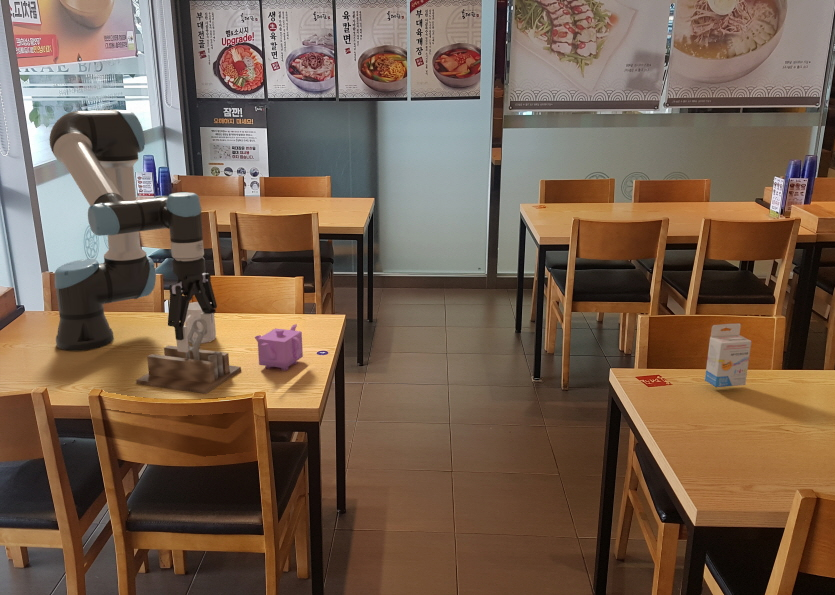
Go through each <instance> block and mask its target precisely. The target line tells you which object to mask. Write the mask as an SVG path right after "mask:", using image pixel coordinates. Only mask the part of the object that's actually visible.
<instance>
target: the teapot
mask: <svg viewBox="0 0 835 595" xmlns="http://www.w3.org/2000/svg"><path fill="white" fill-rule="evenodd" d="M297 327H298V324H296V323H295V324H293V325H292V326H291V327H290V329H284V328H274V329H272V330H270V331H269V332H266V333H265V334H264V335H260V334H259V335H255V336H254V338H255V340H256V341H257V349H258V350H257V352H258V354H257V355H258V364H259V365H260V366H265V368H266V369H272V368H279V369H281V371H284V372H285V371H289V370H290V368H289V367H290V366H291V365H297V364H298V361H299V360H300V359H302V358H304V357H303V356H304V354H303V335H302V334H303V333H302V332H303V331H300V330H296V329H297Z"/></svg>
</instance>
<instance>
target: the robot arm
mask: <svg viewBox="0 0 835 595" xmlns="http://www.w3.org/2000/svg"><path fill="white" fill-rule="evenodd" d="M48 139H49V147H50V150H51V152H52V154H53V156H54V157H55V159H56V160H57V161H58V162H60V163H61V164H63V165H65V167H66V168H67V170H68V172H69V174H70V176H72V178H73V180H74V181H75V183H76V185H77V187H78V188H79V190H80V192H81V193H82V195H83V197H84V198H85V200H86V201H87V203H88V204H89V207H88V211H87V219H88V224H89V227H90V231H92V232H93V234H94V235H95V236H99V237H100V236H101V237H103V236H107V242H108V250H107V251H106V252H105V253H104V254H103V260H104V261H103V262H101V263H99V261H98V260H96V259H92V258H86V259H79V260H74V261H70V262H66V263H64V264H62V265H60V266H59V267H57V268H56V270H54V288H55V293H56V300H57V307H58V314H59V322H58V326H57V327H58V328H57V334H56V336H55V342H56V343H55V344H56V347H57V348H58V349H59V350H62V351H69V352H70V351H71V352H79V351H80V352H83V351H89V350H94V349H97V348H98V349H99V348H103V347H105V346H107V345H110V344H111V343H113V342H114V340H115V339H114V332H113V330H112V328H111V326H110V325H109V321H108V320H107V317H106V315H105V310H104V309H105V308H104V305H107V304H111V303H112V304H113V303H115V302H122V301H128V300H138V299H140V298H142V297H143V298H144V297H147V296H149V295H151V294H152V292H153V291H154V290H155V286H156V281H157V280H156V279H157V272H156V268H155V262H154V261H153V259H152V258H151V257H149V256H147V251H145V250H144V249H142V247H141V239H140V232H146V231H153V230H155V231H156V230H161V229H168V230H169V236H170V238H169V239H170V249H171V250H170V251H171V253H170V254H171V257H172V258H173V260H172V271H173V274H174V275H175V276H176V277H177V281H176V284H170V285H169V287H168V289H169V304H168V317H167V326H168V327H172V328H174V336H175V340H176V346H177V351H179V352H189V348H188V336H187V326H185V319H186V315H187V310H188V306H189V303H191V301H192V299H193V297H195V299H196V302H198V303H199V305H200V307H201V309H202V311H203V312H204V313H201V319H204V320H205V321H206V323H207V327H208V328H207V334H206V335H204V336H203V338H207V339H213V329H212V313H214V314H215V313H216V311H217V310H216V309H217V307H218V304H217V301H216V297H215V293H214V289H213V285H212V281H211V279H212V278H211V273H208V272H207V273H206V261H205V260H206V259H205V258H204V256H205V250H204V249H205V248H204V236H203V223H202V222H203V220H202V207H201V206H202V205H201V200H200V196H199V195H198V194H197V193H195V192H185V191H184V192H182V191H181V192H174V193H170V194H168V195H156V196H153V198H148V199H137V194H136V182H135V170H134V165H135V164H136V163H137V161H139V154H140V153H142V152H144V150H145V145H146V141H145V140H146V139H145V133H144V130H143V126H142V124H141V121H140V120H139V118H138V116H137V115H136V114H135V113H134V112H132V111H131V110H124V109H104V110H102V109H100V110H99V109H96V110H74V111H70V112H68V113H66V114H63V115H62V116H61V117H60V118H59V119H57V120H56V122H55V123H54V124H53V126H52V128H51V130H50V134H49V138H48ZM211 303H212V304H211ZM201 326H202V330H203V329H204V328H203V325H202V323H201Z"/></svg>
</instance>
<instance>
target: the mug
mask: <svg viewBox="0 0 835 595" xmlns="http://www.w3.org/2000/svg"><path fill="white" fill-rule="evenodd" d="M210 303H211V302H210ZM211 304H212V303H211ZM201 313H204V312H203V311H202V309H201V307H200V305H199V303H198V301H195V302H189V306H188V310H187V315H186V319H185V323H184V326H187V336H188V335H189V332H190V330H191V328H192V325H193V322H194V321H195V320H197V319H199V318H201ZM197 327H198V328H199V329H200V330H202V326H201V322H198V321H197ZM212 329H213V339H207V338H203V339H202V341H201V343H200V345H201V344H207V343H211V342H213V341H214V340H215V339H216V338H217V336H216V335H217V333H216V332H217V330H216V320H215V313H212ZM197 336H198V335H197V333H196V332H194V334H193V337H192V339H194V340H196V338H197Z"/></svg>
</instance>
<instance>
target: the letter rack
mask: <svg viewBox="0 0 835 595" xmlns="http://www.w3.org/2000/svg"><path fill="white" fill-rule="evenodd" d="M163 352H164V355H161V354H154V353H151V354H149V355H147V356H146V358H147V359H146V360H147V369H148V372H147V373H146V374H144V375H142V376H140V377H138V378H137V379H136V380H135V381H136V382H135V384H138V385H143V386H144V385H145V386H152V387H156V388H157V387H158V388H165V389H171V390H178V391H185V392H193V393H197V394H198V393H199V394H207V393H209V392H211V391H212V390H214V389H215V388H217V387H218V386H220V385H221V384H223V383H224V382H226V381H227V380H229V379H230V378H232V377H233V376H235V375H237V374H238V373H239V372H241V371H242V368H241V366H238V365H237V366H236V365H230V358H229V352H224V351H223V352H222V351H215V350H208V349H207V350H206V349H202V348H201V349H200V348H199V355H200V360H194V357H193V352H192V351H190V359H186V354H185V352H179V351H177V345H176V346H175V345H166V346H164V347H163Z"/></svg>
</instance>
